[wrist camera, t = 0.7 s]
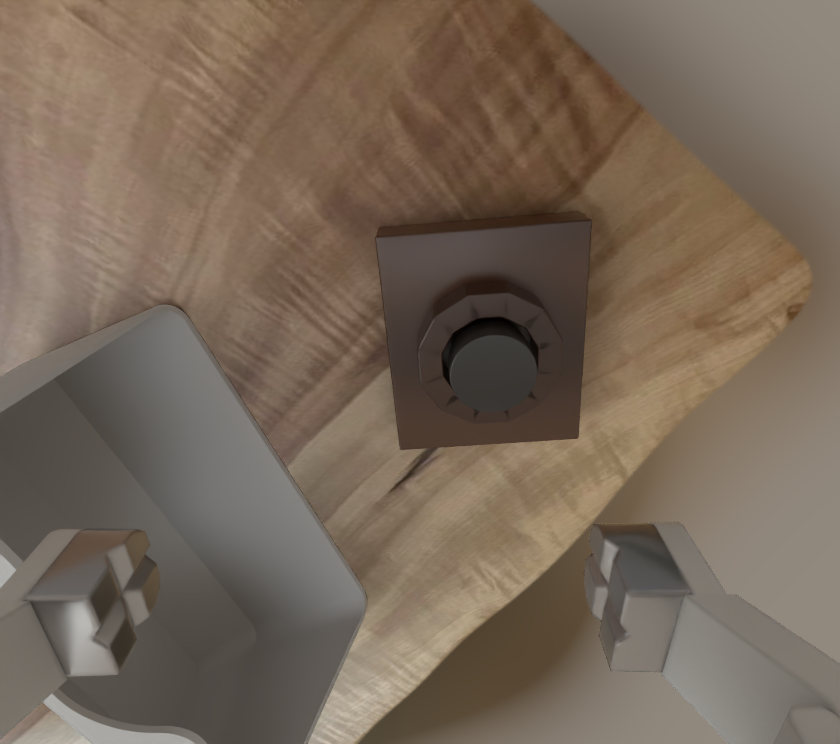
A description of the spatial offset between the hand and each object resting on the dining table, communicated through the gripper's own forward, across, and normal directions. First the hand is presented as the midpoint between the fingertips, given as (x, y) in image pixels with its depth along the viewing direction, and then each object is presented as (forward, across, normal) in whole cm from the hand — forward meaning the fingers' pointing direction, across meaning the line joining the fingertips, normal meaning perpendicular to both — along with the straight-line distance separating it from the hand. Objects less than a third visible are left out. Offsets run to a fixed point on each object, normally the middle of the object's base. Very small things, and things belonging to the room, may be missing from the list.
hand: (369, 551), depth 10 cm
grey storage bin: (+20, +15, +16) cm, 30 cm away
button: (+16, -4, +4) cm, 17 cm away
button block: (+20, -4, +4) cm, 21 cm away
